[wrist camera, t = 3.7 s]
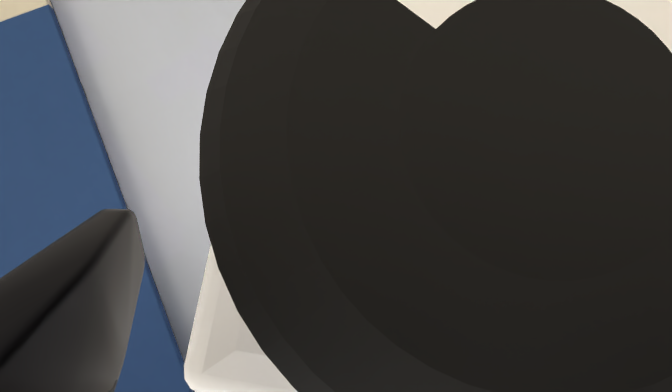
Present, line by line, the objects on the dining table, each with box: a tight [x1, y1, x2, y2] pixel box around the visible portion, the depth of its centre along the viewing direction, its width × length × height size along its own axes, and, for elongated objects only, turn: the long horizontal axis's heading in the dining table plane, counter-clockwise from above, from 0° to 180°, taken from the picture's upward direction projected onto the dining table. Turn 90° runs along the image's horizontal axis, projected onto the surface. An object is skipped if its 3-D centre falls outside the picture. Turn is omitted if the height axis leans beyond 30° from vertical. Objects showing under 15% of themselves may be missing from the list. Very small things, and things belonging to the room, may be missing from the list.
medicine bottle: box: [184, 0, 672, 392], centre depth 11 cm, size 7×7×12 cm
